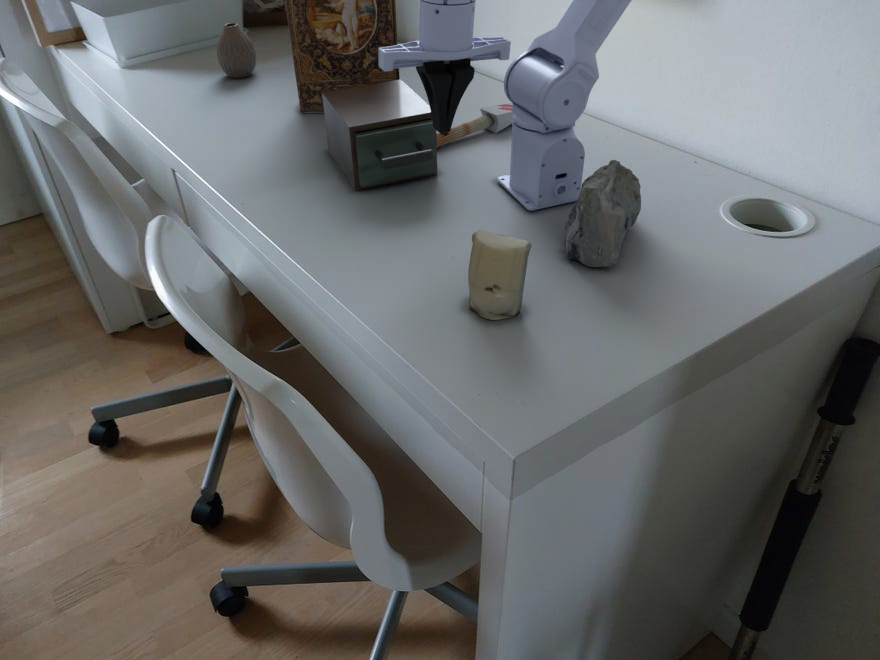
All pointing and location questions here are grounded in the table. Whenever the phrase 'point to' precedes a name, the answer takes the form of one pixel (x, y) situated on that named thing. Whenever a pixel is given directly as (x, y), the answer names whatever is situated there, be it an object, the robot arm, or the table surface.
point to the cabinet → (368, 119)
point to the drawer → (395, 152)
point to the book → (339, 45)
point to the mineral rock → (603, 215)
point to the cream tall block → (497, 274)
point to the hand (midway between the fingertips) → (441, 129)
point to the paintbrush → (480, 123)
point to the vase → (236, 52)
